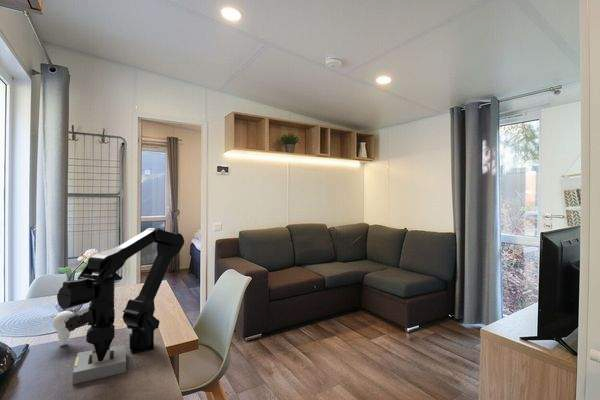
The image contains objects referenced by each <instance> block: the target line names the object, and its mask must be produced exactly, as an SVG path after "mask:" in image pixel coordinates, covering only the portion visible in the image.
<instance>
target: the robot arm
mask: <svg viewBox="0 0 600 400" xmlns="http://www.w3.org/2000/svg"><path fill="white" fill-rule="evenodd" d="M152 244H156V256H155V259H154V261H153V263H152V265H151V268H150V270H149V272H148V274H147V276H146V278H145V281H144V283H143V285H142V286H141V290H140V292H139V294H138V296H136V297H135V298H134V299H132V298H131V299H128V301H127V304H126V306H125V308H124V309H123V310H122V312H123V315H122V320H123V323H124V324H125V325H126V328H127V330H129V329H130V330H131V333H129V341H128V345H129V347H128V348H129V350H130V351H131V354H135V353H136V354H137V353H141V352H146V351H150V350H155V345H154V340H155V331H156V330H157V329H159V327H160V322H161V321H160V320H159V319H158V318H157V317H155V316H154V313H155V310H156V308H155V307H156V305H155V299H156V296H157V293H158V292H159V290H160V287H161V284H162V282H163V280H164V277H165V275H166V273H167V271H168V268H169V266H170V264H171V261H172V260H173V258H174V257H176V256H177V255H178V254H179V253H180V251H181V250H182V248H183V246H184V244H185V239H184V236H183V234H182V233H178V232H170V231H166V230H164V229H161V228H159V227H148V228H146V229H145V230H144V231H142V232H140V233H139V234H137V235H135V236H133V237H132V238H130V239H128V240H126V241H125V242H124V243H121V244H120V245H118V246H115V247H114V248H110V249H106V250H102V251H99V252H96V253H95V254H92V255H91V256H90V257H89V258H88V262H87V264H86V265H85V267H84V268H83V270H82V271H81V273H80V274H79V275H78V276H77V279H75V280H67V281H63V282H62V286H61V287H60V288H59V290H58V293H57V294H56V300H57V303H58V306H59V307H60V308H61V309H62V310H68V309H71V308H75V307H78V306H82V305H86V304H89V306H88V307H86V308H83V309H81V310H78V311H75V312H73V314H71V315H69V316H67V317H66V318H65V320H64V322H65V324H66V326H65V327H66V328H67V329H68V331H69V332H70V331H71V332H73V331H75V330H76V329H77V328H80V327H82V326H85V325H87V326H90V327H89V328H88V329H86V335H85V336H86V337H85V339H86V340H85V341H86V343H88V344H90V345H92V346H93V345H94V347H95V351H96V355H97V358H98V361H103V359H104V357H105V355H106V353H107V351H108V349H109V346H110V347H111V344H112V342H113V341H114V338H115V327H116V326H115V325H114V323H115V319H116V314H115V313H116V310H115V285H116V281H120V280H122V279H123V277H122V276H121V275H119V274H118V271H119V270H120V269H122V268H123V267H124V265H125V263H126V261H127V260H129V258H131V257H133V256H134V255H136V254H138V253H139V252H141V251H142V250H143V249H145V248H147V247H148V246H150V245H152ZM71 332H70V333H71Z"/></svg>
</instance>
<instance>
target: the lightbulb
mask: <svg viewBox="0 0 600 400" xmlns="http://www.w3.org/2000/svg"><path fill="white" fill-rule="evenodd" d="M73 313H74V312H72V311H71V310H64V311H61V312H59V313H57V314H56V315H55V316H54V318H53V319H52V326H53V328H54V329H55V331H56V333H57V338H58V344H59V346H66V345H67V344H69V342H70V336H71V332H72V331H70V332H69V331H68V329H67V328H66V327H65V326H66V324H65V322H64V320H65V318H66V317H67V316H69V315H71V314H73Z"/></svg>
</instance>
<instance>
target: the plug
mask: <svg viewBox="0 0 600 400" xmlns="http://www.w3.org/2000/svg"><path fill="white" fill-rule="evenodd" d="M110 347H111V345H110V346H109V349H108V351H107V353H106V355H105V357H104V359H103V361H107V360H110ZM91 350H92V353H93V355H92V363H97V362H102V361H98V358H97V355H96V351H95V347H94V345H93V344H92V349H91Z"/></svg>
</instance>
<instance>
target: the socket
mask: <svg viewBox="0 0 600 400" xmlns="http://www.w3.org/2000/svg"><path fill="white" fill-rule="evenodd" d="M92 350H93V349H91V350H87V351H81V352H78V353H77V355H76V357H75V362H74V366H73V371H72V383H71V384H72V385H76V384H79V383H83V382H84V383H85V382H89V381H92V380H97V379H101V378H106V377H111V376H115V375H119V374H123V373H126V372H127V352H126V343H124V344H118V345H114V346H113V345H112V346H110V360H107V361H102V362H97V363H92V355H93V353H92Z"/></svg>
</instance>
